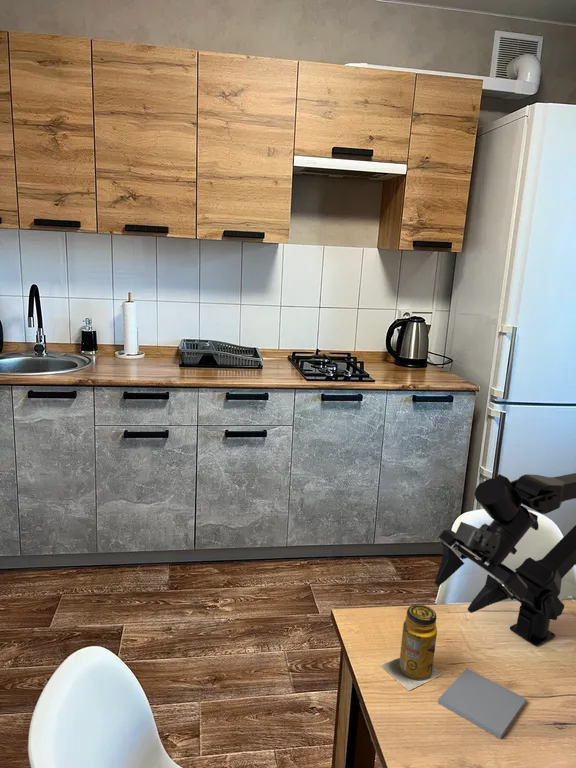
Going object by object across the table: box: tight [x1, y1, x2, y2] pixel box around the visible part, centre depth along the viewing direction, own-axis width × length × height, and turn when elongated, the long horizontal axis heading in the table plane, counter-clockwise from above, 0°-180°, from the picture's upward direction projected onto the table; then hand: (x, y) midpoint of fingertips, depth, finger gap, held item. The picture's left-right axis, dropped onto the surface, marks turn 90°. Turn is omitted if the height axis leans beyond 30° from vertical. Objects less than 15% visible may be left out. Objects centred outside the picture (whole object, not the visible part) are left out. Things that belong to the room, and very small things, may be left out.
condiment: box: [381, 604, 443, 691], centre depth 107 cm, size 7×8×12 cm
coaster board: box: [437, 667, 527, 740], centre depth 102 cm, size 11×11×1 cm
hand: (452, 597), depth 109 cm, fingers open, 9 cm apart
